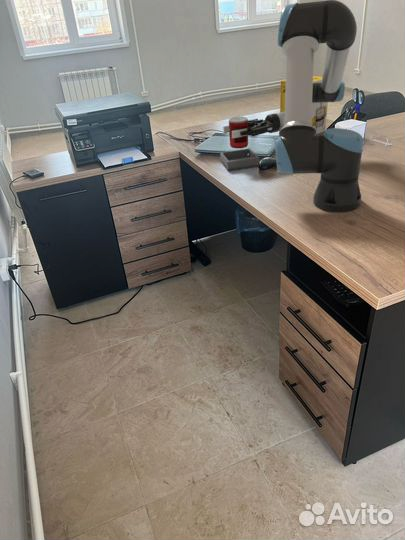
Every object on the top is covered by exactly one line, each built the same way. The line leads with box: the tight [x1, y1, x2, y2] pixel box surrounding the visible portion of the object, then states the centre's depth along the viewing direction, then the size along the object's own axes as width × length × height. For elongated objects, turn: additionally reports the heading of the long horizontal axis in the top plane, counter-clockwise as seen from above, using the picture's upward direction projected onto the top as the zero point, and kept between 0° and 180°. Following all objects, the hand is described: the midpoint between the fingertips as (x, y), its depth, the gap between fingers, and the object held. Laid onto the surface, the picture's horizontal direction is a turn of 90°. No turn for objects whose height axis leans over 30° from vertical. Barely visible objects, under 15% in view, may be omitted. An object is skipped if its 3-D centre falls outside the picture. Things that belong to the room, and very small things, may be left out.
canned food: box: [228, 116, 249, 150], centre depth 166 cm, size 8×8×11 cm
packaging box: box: [279, 75, 329, 135], centre depth 197 cm, size 16×16×25 cm
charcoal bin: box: [219, 147, 260, 172], centre depth 172 cm, size 14×14×4 cm
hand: (227, 132), depth 164 cm, fingers closed on canned food, 8 cm apart
